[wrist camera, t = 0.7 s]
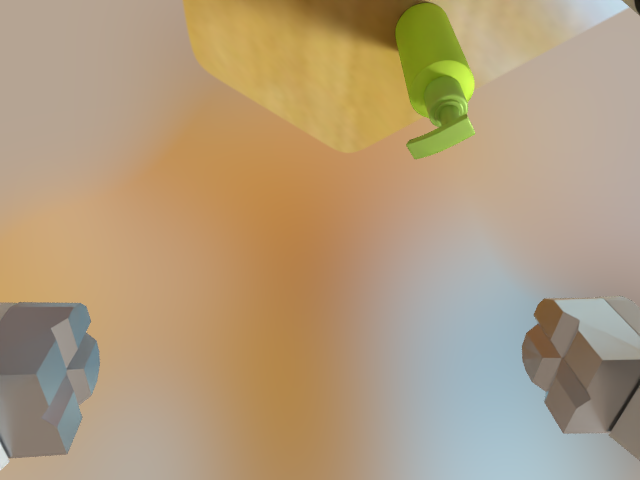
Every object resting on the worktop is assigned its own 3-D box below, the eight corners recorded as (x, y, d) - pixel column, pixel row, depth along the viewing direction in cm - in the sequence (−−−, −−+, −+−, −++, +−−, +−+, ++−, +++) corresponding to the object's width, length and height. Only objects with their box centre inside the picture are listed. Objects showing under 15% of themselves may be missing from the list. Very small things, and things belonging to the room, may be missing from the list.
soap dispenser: (377, 27, 51) (396, 131, 37) (436, -9, 48) (479, 89, 35) (400, 69, 55) (424, 178, 41) (456, 38, 52) (502, 144, 38)
